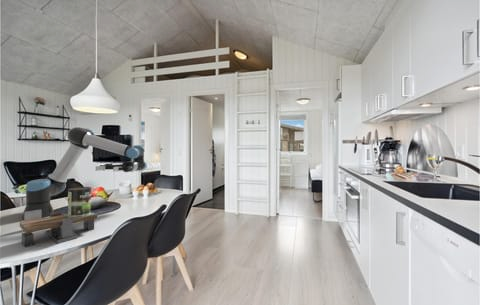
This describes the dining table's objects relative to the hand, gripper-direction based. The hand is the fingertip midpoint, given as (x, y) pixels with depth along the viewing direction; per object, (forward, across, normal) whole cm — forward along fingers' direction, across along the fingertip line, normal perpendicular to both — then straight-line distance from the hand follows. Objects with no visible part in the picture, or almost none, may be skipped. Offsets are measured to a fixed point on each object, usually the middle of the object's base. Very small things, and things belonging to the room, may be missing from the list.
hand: (104, 168), depth 138 cm
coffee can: (+20, -3, -23) cm, 30 cm away
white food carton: (+24, +24, -32) cm, 47 cm away
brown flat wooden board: (+27, -1, -25) cm, 37 cm away
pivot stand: (+27, -1, -32) cm, 42 cm away
